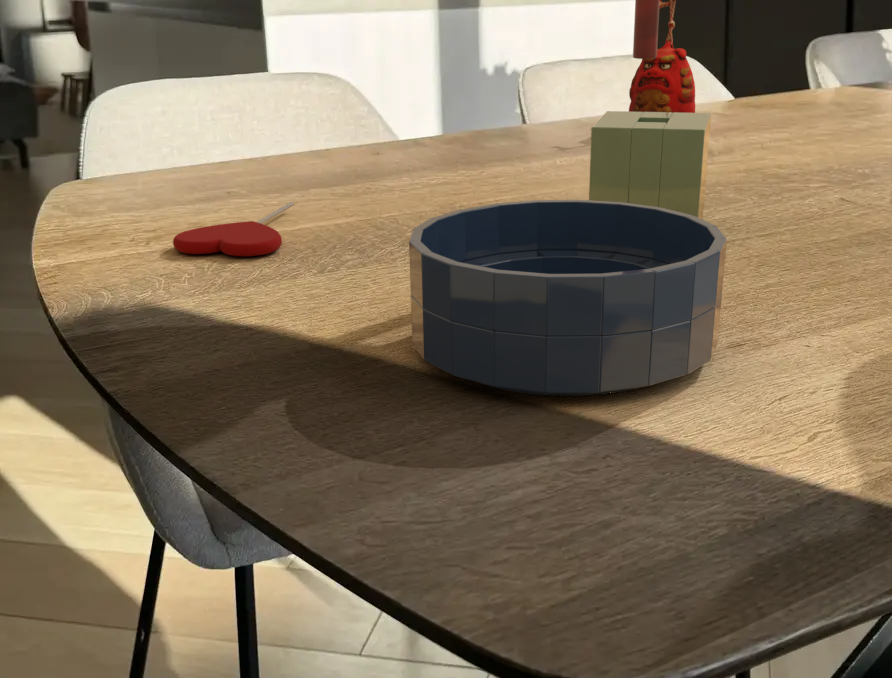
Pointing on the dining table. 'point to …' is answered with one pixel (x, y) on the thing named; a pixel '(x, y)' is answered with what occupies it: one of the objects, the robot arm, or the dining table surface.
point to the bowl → (566, 295)
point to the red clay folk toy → (664, 79)
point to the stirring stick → (646, 29)
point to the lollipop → (232, 238)
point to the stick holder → (651, 159)
